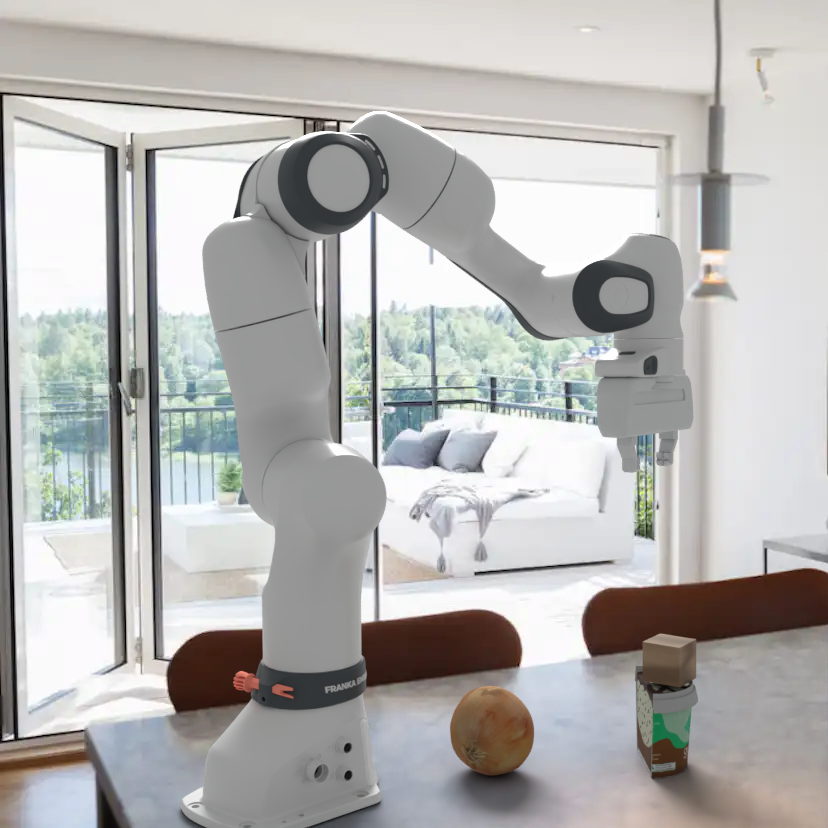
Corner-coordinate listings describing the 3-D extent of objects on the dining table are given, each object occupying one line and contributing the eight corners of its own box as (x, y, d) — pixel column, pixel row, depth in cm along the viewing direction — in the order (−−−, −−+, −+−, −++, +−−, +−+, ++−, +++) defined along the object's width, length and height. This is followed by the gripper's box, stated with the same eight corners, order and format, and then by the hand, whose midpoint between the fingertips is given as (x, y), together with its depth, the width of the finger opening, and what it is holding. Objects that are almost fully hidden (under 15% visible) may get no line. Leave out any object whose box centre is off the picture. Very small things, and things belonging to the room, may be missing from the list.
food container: (709, 783, 123) (709, 695, 122) (653, 783, 123) (654, 695, 122) (684, 744, 135) (685, 664, 134) (634, 744, 135) (634, 664, 135)
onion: (544, 762, 129) (544, 679, 129) (520, 794, 120) (520, 704, 120) (467, 752, 133) (466, 670, 133) (438, 782, 124) (437, 695, 123)
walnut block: (679, 687, 125) (679, 647, 125) (642, 680, 128) (642, 641, 128) (696, 677, 129) (696, 639, 128) (659, 671, 132) (659, 633, 131)
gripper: (662, 360, 151) (662, 460, 152) (587, 363, 135) (587, 474, 136) (705, 360, 147) (705, 463, 148) (633, 362, 131) (633, 477, 132)
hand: (648, 468), depth 142 cm, fingers open, 8 cm apart
